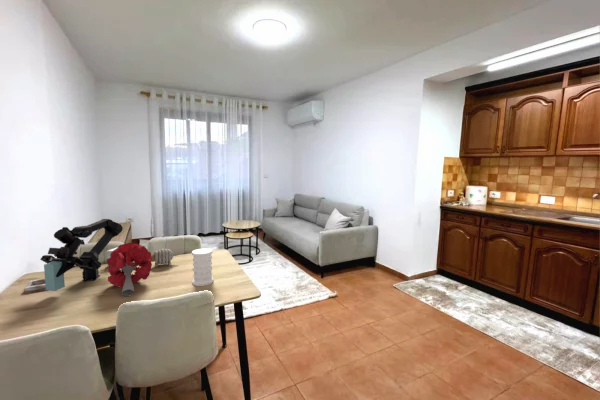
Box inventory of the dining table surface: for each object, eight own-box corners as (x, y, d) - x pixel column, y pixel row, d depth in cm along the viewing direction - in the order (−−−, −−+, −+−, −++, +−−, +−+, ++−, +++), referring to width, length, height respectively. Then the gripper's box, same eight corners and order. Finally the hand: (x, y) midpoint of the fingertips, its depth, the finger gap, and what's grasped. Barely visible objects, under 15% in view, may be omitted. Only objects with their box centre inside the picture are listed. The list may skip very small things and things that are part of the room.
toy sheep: (148, 265, 182) (147, 248, 181) (175, 260, 192) (175, 244, 191) (151, 270, 174) (150, 252, 172) (179, 264, 184) (179, 248, 182)
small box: (114, 267, 177) (113, 251, 176) (107, 266, 178) (106, 250, 177) (124, 263, 185) (123, 247, 184) (117, 262, 186) (116, 247, 185)
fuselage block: (55, 285, 141) (54, 261, 139) (64, 286, 140) (63, 261, 138) (45, 290, 136) (43, 264, 134) (55, 291, 135) (53, 265, 134)
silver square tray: (58, 280, 156) (58, 276, 155) (54, 288, 146) (54, 283, 146) (29, 285, 149) (28, 280, 149) (23, 293, 139) (22, 288, 139)
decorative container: (218, 280, 160) (217, 249, 158) (203, 287, 150) (202, 255, 148) (202, 276, 165) (202, 247, 163) (187, 283, 155) (186, 252, 153)
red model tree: (155, 300, 149) (153, 258, 170) (150, 271, 136) (148, 230, 156) (107, 311, 140) (111, 266, 160) (96, 282, 126) (102, 236, 147)
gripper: (42, 239, 140) (20, 268, 130) (76, 241, 138) (57, 270, 128) (58, 250, 148) (39, 278, 139) (90, 251, 147) (73, 280, 137)
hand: (51, 276), depth 136 cm, fingers closed on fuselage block, 5 cm apart
